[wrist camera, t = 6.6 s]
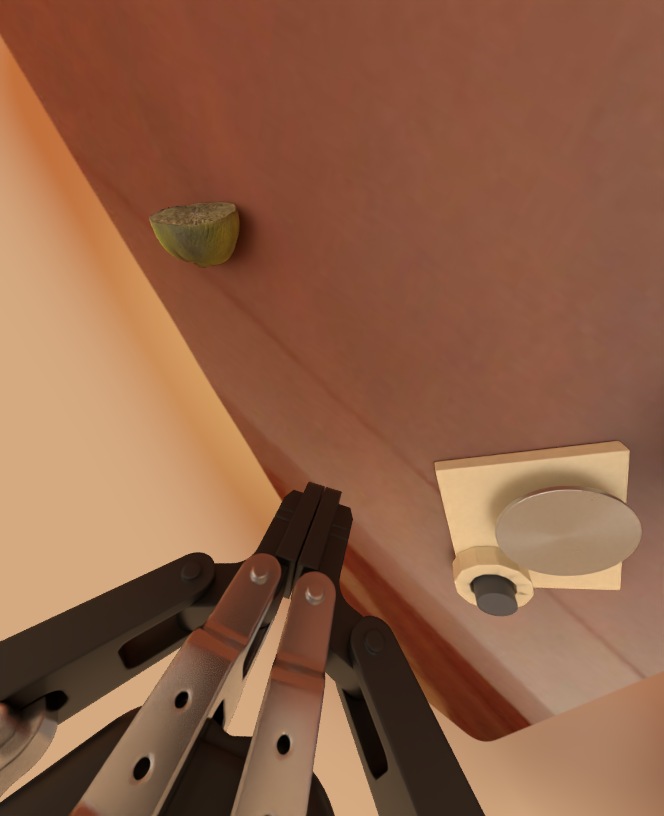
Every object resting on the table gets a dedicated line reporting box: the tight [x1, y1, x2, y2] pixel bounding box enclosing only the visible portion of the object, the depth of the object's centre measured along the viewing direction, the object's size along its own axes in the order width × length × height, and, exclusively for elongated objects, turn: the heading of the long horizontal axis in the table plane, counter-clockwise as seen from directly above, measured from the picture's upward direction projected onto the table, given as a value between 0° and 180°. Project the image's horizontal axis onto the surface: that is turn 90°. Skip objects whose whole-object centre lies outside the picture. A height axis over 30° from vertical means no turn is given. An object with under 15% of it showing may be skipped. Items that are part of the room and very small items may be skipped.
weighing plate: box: [495, 486, 642, 576], centre depth 20 cm, size 8×8×1 cm
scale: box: [435, 441, 630, 607], centre depth 23 cm, size 14×12×3 cm
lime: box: [149, 202, 240, 268], centre depth 17 cm, size 4×5×5 cm
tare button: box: [473, 574, 518, 616], centre depth 24 cm, size 3×3×2 cm
